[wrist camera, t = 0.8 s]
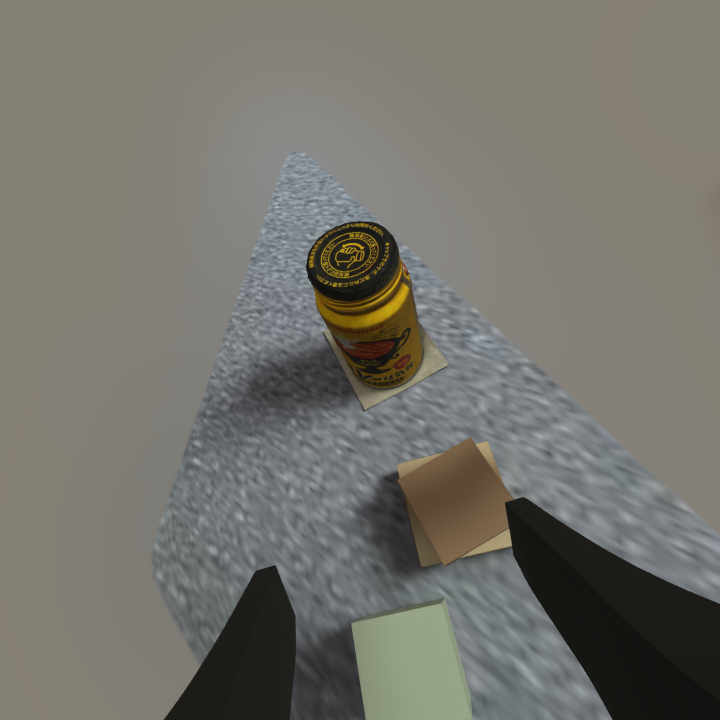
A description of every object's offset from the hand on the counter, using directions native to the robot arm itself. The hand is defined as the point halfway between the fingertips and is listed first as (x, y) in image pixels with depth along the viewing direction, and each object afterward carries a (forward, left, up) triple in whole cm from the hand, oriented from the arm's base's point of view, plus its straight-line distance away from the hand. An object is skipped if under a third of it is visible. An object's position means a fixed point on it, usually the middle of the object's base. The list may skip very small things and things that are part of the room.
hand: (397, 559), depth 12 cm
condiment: (+16, -1, -14) cm, 21 cm away
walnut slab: (+3, -3, -12) cm, 13 cm away
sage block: (-4, +2, -14) cm, 15 cm away
